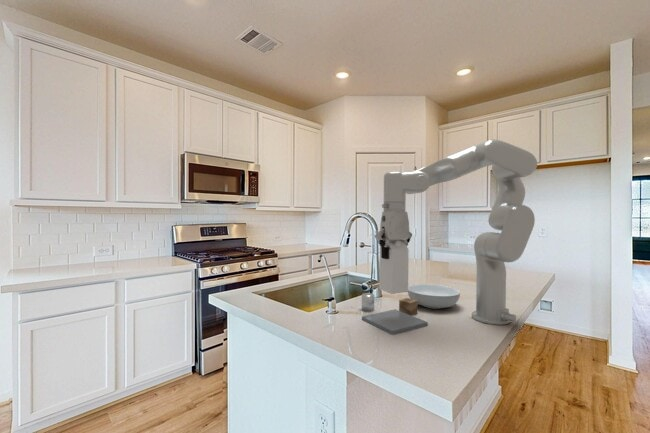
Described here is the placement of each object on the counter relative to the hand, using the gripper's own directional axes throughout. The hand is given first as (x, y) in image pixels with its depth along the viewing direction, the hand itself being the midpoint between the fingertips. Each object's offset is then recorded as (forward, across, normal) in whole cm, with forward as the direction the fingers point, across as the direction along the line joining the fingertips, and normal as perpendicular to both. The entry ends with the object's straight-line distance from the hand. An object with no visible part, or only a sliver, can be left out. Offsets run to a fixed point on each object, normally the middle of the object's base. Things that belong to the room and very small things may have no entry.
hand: (394, 257), depth 110 cm
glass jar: (+23, +1, +16) cm, 28 cm away
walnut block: (+23, +12, +5) cm, 27 cm away
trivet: (+23, 0, 0) cm, 23 cm away
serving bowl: (+23, +28, +7) cm, 37 cm away
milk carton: (+12, 0, 0) cm, 12 cm away
